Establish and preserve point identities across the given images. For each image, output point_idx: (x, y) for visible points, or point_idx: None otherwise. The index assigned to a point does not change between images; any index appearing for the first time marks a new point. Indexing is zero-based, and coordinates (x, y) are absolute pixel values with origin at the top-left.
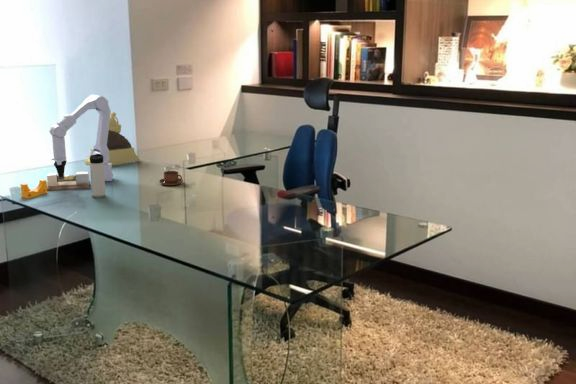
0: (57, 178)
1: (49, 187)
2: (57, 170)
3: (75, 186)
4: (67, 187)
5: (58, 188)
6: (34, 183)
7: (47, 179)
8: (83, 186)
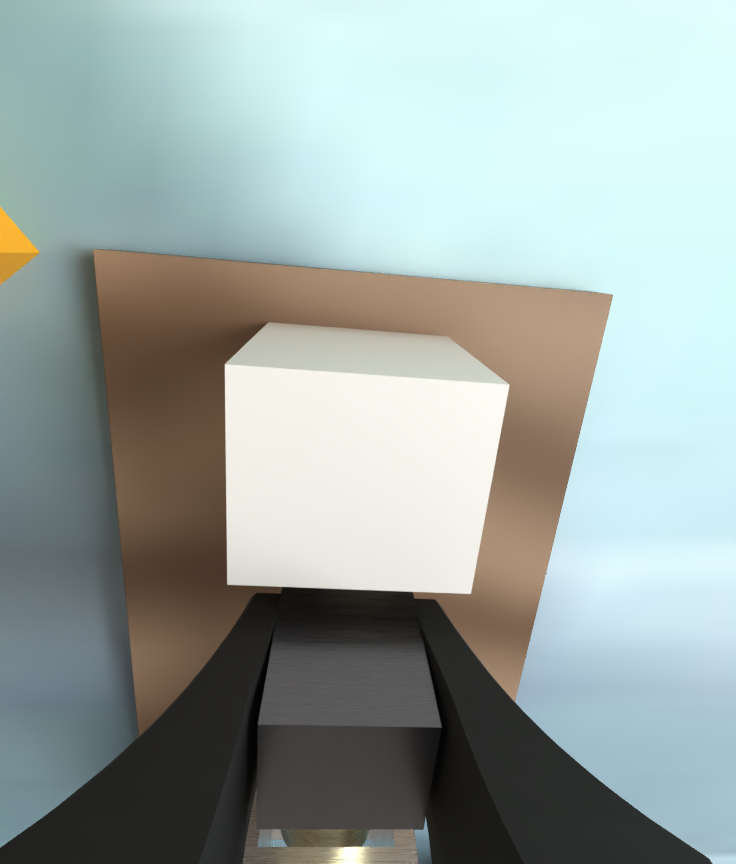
0: None
1: (180, 350)
2: (173, 714)
3: (183, 688)
4: (141, 601)
5: (117, 484)
6: (716, 66)
7: (246, 349)
8: None
